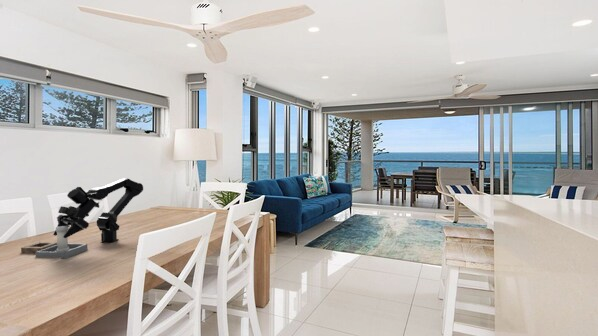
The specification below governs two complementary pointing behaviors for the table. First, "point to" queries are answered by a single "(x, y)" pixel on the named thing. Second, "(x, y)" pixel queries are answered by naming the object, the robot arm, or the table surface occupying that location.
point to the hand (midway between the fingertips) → (59, 236)
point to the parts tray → (53, 252)
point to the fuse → (62, 239)
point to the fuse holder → (37, 247)
